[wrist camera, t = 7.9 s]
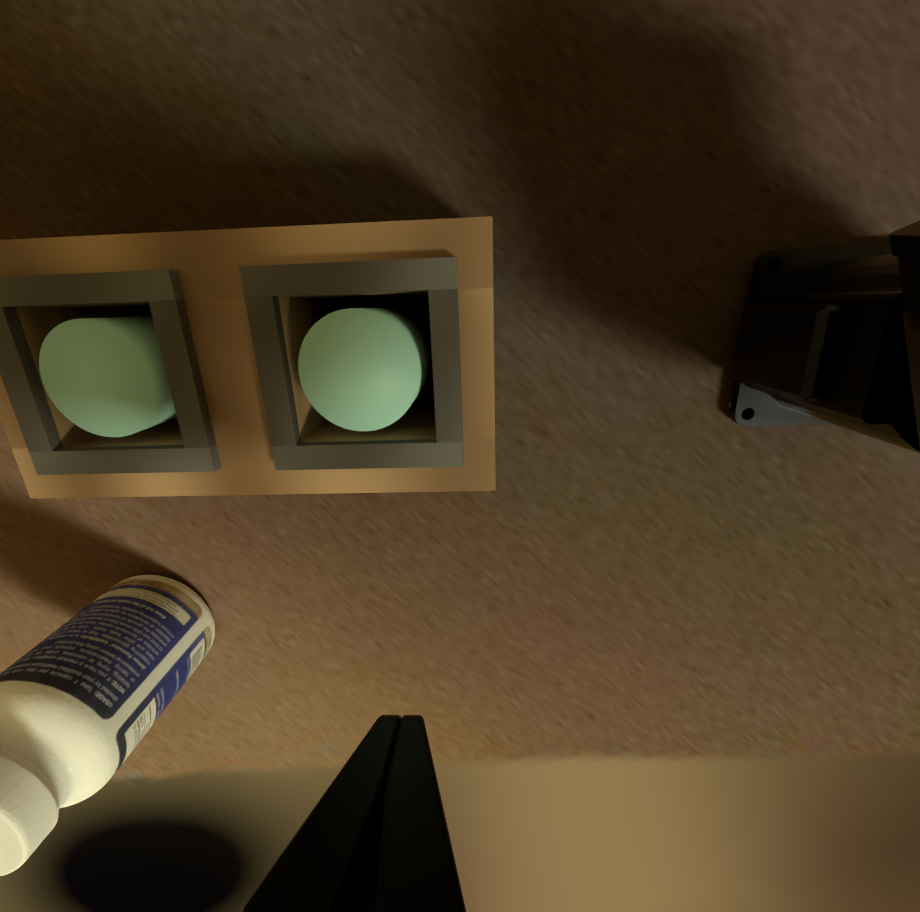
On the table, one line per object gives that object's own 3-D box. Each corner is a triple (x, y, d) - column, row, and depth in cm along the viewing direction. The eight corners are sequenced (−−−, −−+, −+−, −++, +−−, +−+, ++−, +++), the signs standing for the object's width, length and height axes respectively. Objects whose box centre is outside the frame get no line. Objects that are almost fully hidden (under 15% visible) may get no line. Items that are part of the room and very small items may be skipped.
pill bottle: (88, 584, 22) (-193, 786, 13) (186, 558, 22) (-37, 751, 12) (146, 670, 24) (-67, 904, 15) (238, 649, 23) (77, 880, 14)
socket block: (488, 241, 17) (493, 213, 12) (491, 444, 19) (495, 495, 14) (81, 259, 17) (-83, 241, 12) (136, 452, 20) (19, 503, 15)
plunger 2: (433, 305, 17) (414, 305, 12) (437, 396, 18) (423, 429, 14) (342, 309, 17) (289, 310, 13) (352, 399, 19) (307, 433, 14)
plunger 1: (233, 313, 18) (139, 316, 13) (250, 402, 19) (170, 436, 14) (147, 316, 18) (21, 320, 13) (169, 404, 19) (61, 438, 14)
